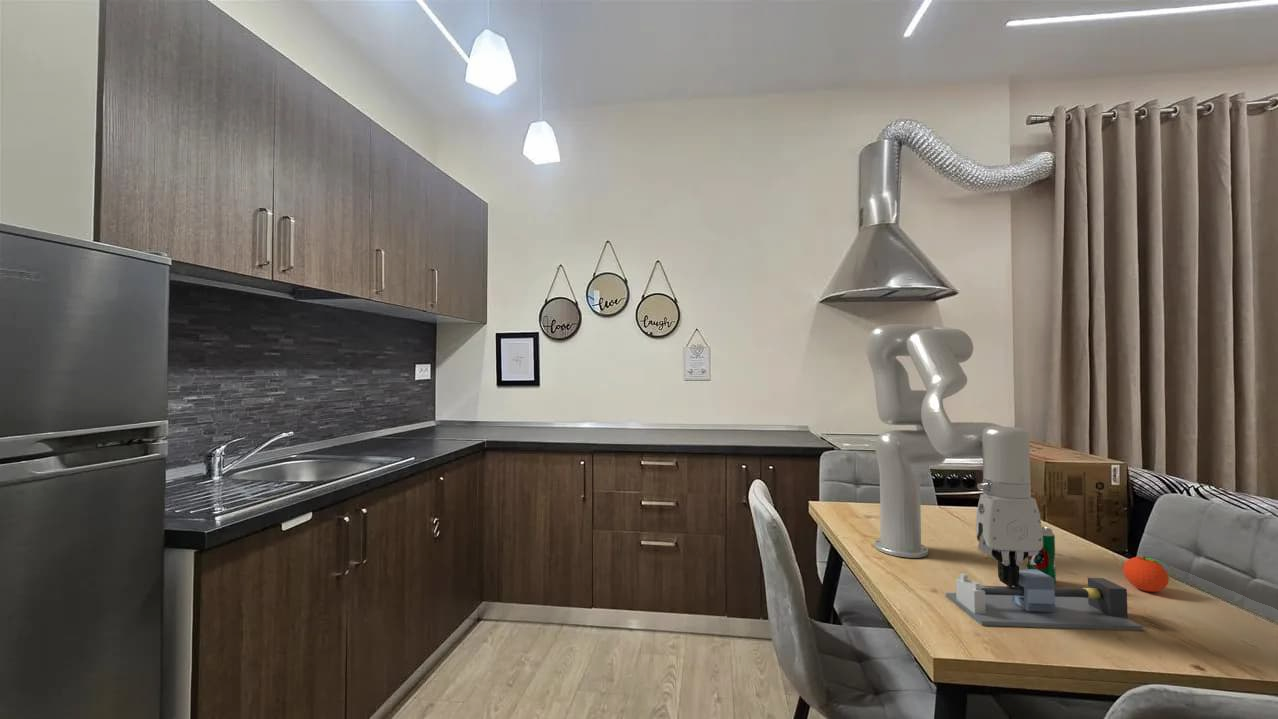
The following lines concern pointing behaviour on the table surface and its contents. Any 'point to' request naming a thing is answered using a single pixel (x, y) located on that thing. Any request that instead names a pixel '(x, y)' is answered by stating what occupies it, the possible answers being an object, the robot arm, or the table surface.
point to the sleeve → (1036, 591)
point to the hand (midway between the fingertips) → (1008, 583)
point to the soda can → (1045, 555)
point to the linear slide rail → (1072, 610)
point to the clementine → (1146, 574)
